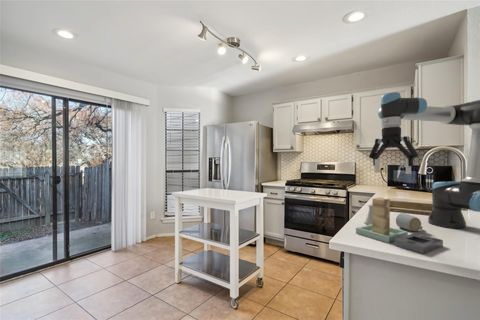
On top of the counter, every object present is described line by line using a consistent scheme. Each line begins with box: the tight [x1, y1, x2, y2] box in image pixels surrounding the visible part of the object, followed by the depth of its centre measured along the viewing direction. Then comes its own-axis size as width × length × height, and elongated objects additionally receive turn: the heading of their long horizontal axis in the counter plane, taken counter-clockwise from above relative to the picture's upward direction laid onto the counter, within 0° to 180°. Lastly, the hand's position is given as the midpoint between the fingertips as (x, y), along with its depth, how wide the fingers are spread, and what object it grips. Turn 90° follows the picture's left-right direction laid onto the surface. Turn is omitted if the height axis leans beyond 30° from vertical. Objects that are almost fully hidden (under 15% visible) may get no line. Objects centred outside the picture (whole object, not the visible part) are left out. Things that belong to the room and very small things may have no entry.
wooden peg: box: [371, 197, 391, 235], centre depth 107 cm, size 5×5×16 cm
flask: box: [364, 204, 372, 225], centre depth 125 cm, size 7×7×10 cm
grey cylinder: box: [395, 212, 423, 232], centre depth 116 cm, size 11×8×8 cm
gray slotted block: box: [393, 232, 444, 255], centre depth 94 cm, size 16×10×3 cm, turn 119°
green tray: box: [355, 224, 409, 244], centre depth 107 cm, size 15×15×2 cm
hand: (392, 173), depth 107 cm, fingers open, 13 cm apart
